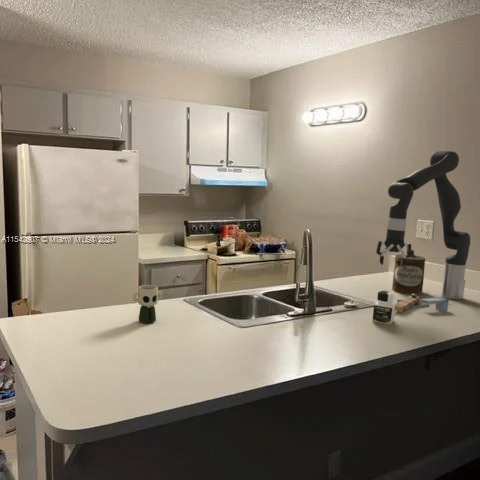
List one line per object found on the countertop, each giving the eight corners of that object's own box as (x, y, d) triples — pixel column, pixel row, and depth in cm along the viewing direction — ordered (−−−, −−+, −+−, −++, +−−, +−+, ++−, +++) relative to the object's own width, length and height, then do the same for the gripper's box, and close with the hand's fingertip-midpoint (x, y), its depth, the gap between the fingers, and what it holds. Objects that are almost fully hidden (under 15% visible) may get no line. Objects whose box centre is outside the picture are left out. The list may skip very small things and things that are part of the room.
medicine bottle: (372, 321, 187) (374, 292, 186) (375, 317, 193) (378, 288, 192) (390, 324, 184) (393, 295, 182) (393, 320, 190) (396, 291, 189)
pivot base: (413, 300, 224) (414, 290, 223) (429, 306, 215) (430, 296, 214) (397, 301, 220) (398, 291, 219) (412, 307, 211) (413, 297, 210)
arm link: (409, 299, 221) (410, 295, 220) (420, 301, 218) (421, 297, 217) (391, 309, 201) (391, 305, 201) (402, 312, 198) (403, 307, 198)
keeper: (440, 308, 212) (441, 297, 211) (447, 311, 208) (448, 299, 208) (419, 310, 207) (421, 298, 207) (426, 312, 204) (427, 301, 203)
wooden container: (392, 292, 239) (396, 249, 236) (391, 286, 253) (395, 246, 250) (423, 296, 234) (427, 252, 231) (421, 289, 249) (425, 248, 246)
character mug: (135, 326, 166) (136, 290, 165) (129, 320, 172) (130, 285, 171) (164, 322, 172) (165, 288, 170) (158, 317, 178) (159, 283, 176)
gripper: (380, 228, 201) (376, 265, 203) (415, 231, 199) (410, 268, 201) (378, 226, 208) (374, 262, 210) (411, 229, 206) (406, 265, 208)
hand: (391, 265), depth 206 cm, fingers open, 8 cm apart
